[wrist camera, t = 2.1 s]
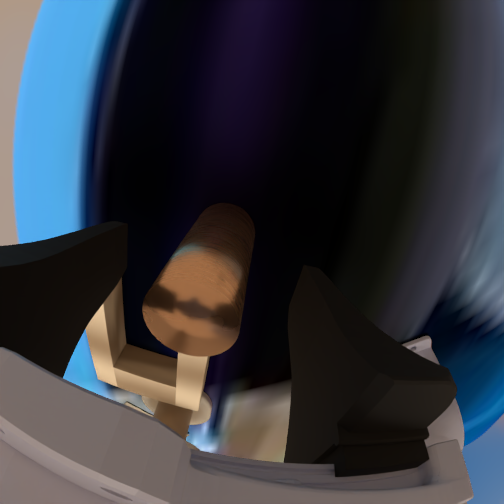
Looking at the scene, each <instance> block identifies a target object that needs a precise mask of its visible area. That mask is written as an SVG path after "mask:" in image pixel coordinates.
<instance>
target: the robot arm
mask: <svg viewBox="0 0 504 504" xmlns="http://www.w3.org/2000/svg"><path fill="white" fill-rule="evenodd" d="M127 234H128V224H126V223H122V222H117V221H111V222H106V223H102V224H99V225H95V226H92V227H88V228H85V229H82V230H79V231H75V232H72V233H68V234H65V235H61V236H58V237H54V238H50V239H46V240H41V241H36V242H31V243H24V244H16V245H8V246H0V504H467V503H466V502H467V501H468V500H470V499H472V498H473V491H472V487H471V483H470V479H469V475H468V472H467V468H466V465H465V461H464V458H463V455H462V449H463V445H464V428H463V422H462V417H461V413H460V410H459V407H458V404H457V402H456V399H455V396H456V393H457V387H456V384H455V382H454V380H453V378H452V376H451V373H450V371H449V370H448V368H446V367H443V366H441V365H440V364H439V362H438V360H437V358H436V356H435V354H434V352H433V350H432V348H431V339H430V337H429V336H423V337H421V338H418V339H415V340H413V341H410V342H407V343H404V344H402V345H401V344H400V343H398V342H397V341H395V340H394V339H393V338H391V337H390V336H388V335H387V334H385V333H384V332H383V331H381V330H380V329H379V328H378V327H376V326H375V325H374V324H373V323H372V322H371V321H369V320H368V319H367V318H366V317H365V316H364V315H363V314H361V313H360V312H359V311H358V310H357V309H356V308H355V307H354V306H353V305H352V304H351V303H350V302H349V300H348V299H347V298H346V297H345V296H344V295H343V294H342V293H341V292H340V291H339V290H338V288H337V287H336V286H335V285H334V284H333V283H332V282H331V280H330V279H329V278H328V277H327V276H326V275H325V274H324V273H323V272H322V271H321V270H320V269H319V268H316V267H311V266H307V265H304V266H303V269H302V272H301V275H300V277H299V280H298V283H297V286H296V288H295V291H294V294H293V297H292V299H291V302H290V305H289V314H288V335H289V347H290V359H291V371H292V388H291V405H290V417H289V428H288V436H287V444H286V451H285V457H284V463H280V462H269V461H259V460H251V459H244V458H237V457H231V456H225V455H219V454H214V453H209V452H204V451H199V450H195V449H191V448H188V446H187V444H186V442H185V441H184V439H183V438H182V437H181V435H180V434H179V433H177V432H176V431H174V430H173V429H171V428H170V427H168V426H167V425H165V424H164V423H162V422H161V421H160V420H158V419H156V418H154V417H151V416H149V415H147V414H144V413H142V412H140V411H138V410H136V409H133V408H131V407H129V406H127V405H124V404H121V403H119V402H116V401H113V400H111V399H108V398H106V397H103V396H101V395H98V394H96V393H94V392H91V391H89V390H87V389H84V388H82V387H80V386H78V385H76V384H73V383H71V382H69V381H67V380H65V379H63V376H64V373H65V371H66V368H67V366H68V363H69V361H70V358H71V356H72V354H73V352H74V350H75V348H76V345H77V343H78V342H79V340H80V338H81V336H82V334H83V332H84V330H85V328H86V327H87V325H88V324H89V322H90V321H91V319H92V318H93V316H94V315H95V314H96V312H97V311H98V310H99V308H100V307H101V306H102V304H103V303H104V302H105V300H106V299H107V298H108V296H109V295H110V294H111V292H112V291H113V290H114V288H115V287H116V286H117V284H118V283H119V281H120V279H121V277H122V276H123V274H124V272H125V270H126V268H127Z"/></svg>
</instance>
